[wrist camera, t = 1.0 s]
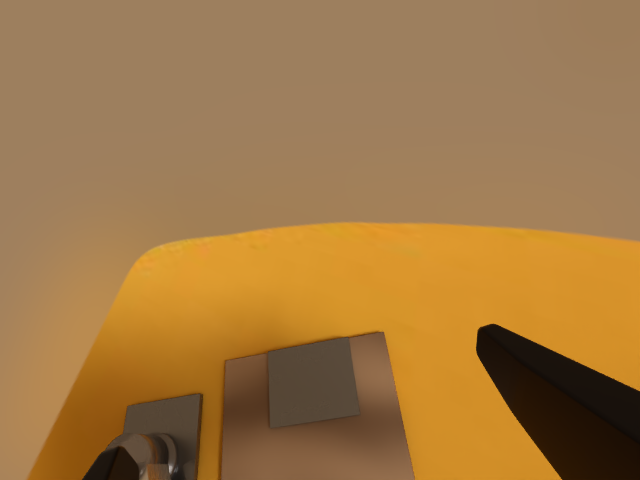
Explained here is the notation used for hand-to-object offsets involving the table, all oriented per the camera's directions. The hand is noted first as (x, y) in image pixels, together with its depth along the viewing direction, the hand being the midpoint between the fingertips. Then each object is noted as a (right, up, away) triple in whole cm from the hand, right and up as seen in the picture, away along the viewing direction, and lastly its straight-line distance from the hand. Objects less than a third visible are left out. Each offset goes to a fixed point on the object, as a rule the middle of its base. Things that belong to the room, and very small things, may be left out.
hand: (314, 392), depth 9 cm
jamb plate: (-11, -12, +16) cm, 23 cm away
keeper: (0, -6, +16) cm, 17 cm away
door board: (-1, -8, +15) cm, 17 cm away
